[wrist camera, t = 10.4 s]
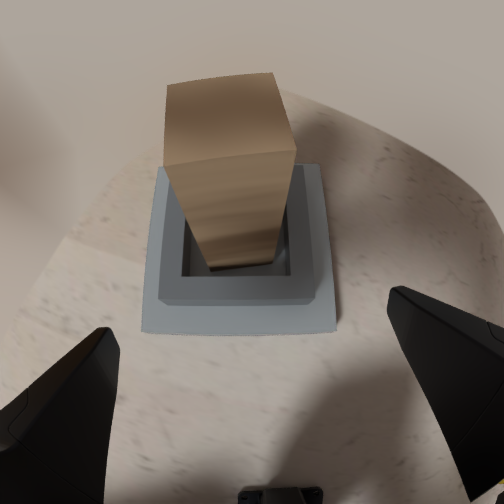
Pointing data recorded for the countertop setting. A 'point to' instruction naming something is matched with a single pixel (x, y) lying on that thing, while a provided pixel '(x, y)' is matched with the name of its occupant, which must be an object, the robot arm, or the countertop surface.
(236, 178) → the walnut column
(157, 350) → the countertop surface
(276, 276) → the base plate
